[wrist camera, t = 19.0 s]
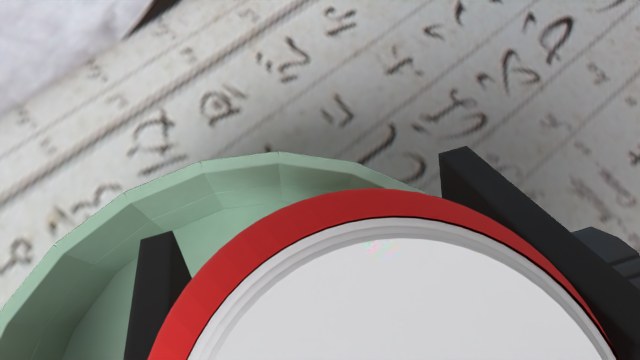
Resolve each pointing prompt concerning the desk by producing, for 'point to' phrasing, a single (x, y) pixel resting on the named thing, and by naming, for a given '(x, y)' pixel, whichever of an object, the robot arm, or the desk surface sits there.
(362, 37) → the desk surface
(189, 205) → the bowl
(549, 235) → the robot arm
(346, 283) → the beverage can
